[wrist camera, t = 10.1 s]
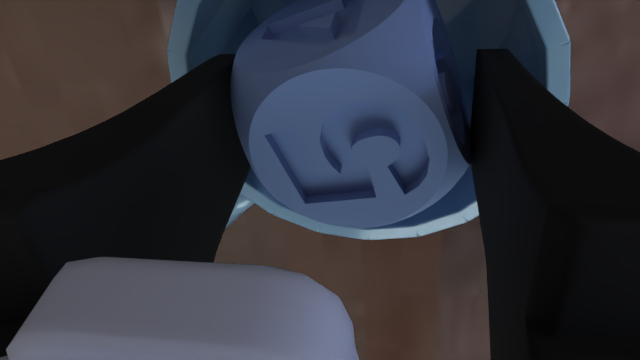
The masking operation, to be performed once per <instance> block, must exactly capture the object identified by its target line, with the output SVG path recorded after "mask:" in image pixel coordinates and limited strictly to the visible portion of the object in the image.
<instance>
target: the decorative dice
mask: <svg viewBox="0 0 640 360" xmlns="http://www.w3.org/2000/svg"><path fill="white" fill-rule="evenodd" d="M230 92H231V103H232V111H233V116H234V121H235V125H236V129H237V132H238V136H239V139H240V142H241V145H242V147H243V150H244V152H245V155H246V157H247V159H248V161H249V163H250V165H251V167H252V169H253V171H254V173H255V174H256V176H257V177H258V179H259V180H260V182H261V183H262V185H263V186H264V187H265V188H266V189H267V191H268V192H269V193H270V194H271V195H272V196H273V197H275V198H276V199H277V200H279V201H280V202H282V203H283V204H284V205H286V206H287V207H289V208H290V209H292V210H293V211H295V212H297V213H299V214H301V215H303V216H305V217H307V218H309V219H312V220H315V221H318V222H321V223H324V224H328V225H333V226H338V227H346V228H370V227H378V226H383V225H388V224H392V223H395V222H398V221H401V220H404V219H406V218H409V217H411V216H413V215H415V214H417V213H419V212H421V211H423V210H425V209H426V208H428V207H430V206H431V205H433V204H434V203H435V202H437V201H438V200H439V199H441V198H442V197H443V196H444V195H445V194H446V193H447V192H448V191H450V190H451V189H452V188H453V187H454V186H455V184H456V183H457V182H458V181H459V179H460V178H461V177H462V176H463V175H464V173H465V172H466V170H467V169H468V167H469V166H470V164H471V162H472V150H471V136H470V123H469V117H468V112H467V107H466V102H465V97H464V93H463V88H462V84H461V80H460V76H459V72H458V68H457V64H456V61H455V57H454V54H453V50H452V47H451V43H450V40H449V37H448V34H447V31H446V28H445V25H444V22H443V19H442V16H441V14H440V11H439V8H438V6H437V3H436V1H435V0H295V1H293V2H292V3H290V4H288V5H287V6H285V7H283V8H282V9H280V10H279V11H277V12H276V13H274V14H273V15H272V16H270V17H269V18H268V19H266V20H265V21H264V22H262V23H261V24H260V25H259V26H258V27H257V28H255V29H254V30H253V31H252V32H251V33H250V34H249V35H248V37H247V38H246V39H245V40H244V41H243V43H242V44H241V45H240V47H239V49H238V51H237V53H236V56H235V59H234V63H233V67H232V72H231V82H230Z"/></svg>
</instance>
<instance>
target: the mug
mask: <svg viewBox="0 0 640 360" xmlns="http://www.w3.org/2000/svg"><path fill="white" fill-rule="evenodd" d="M293 1H295V0H177V2H176V7H175V12H174V16H173V21H172V26H171V30H170V35H169V40H168V44H167V49H168V50H167V56H168V63H169V70H170V77H171V83H172V82H174V81H175V80H177V79H178V78H180V77H181V76H183V75H185V74H186V73H188V72H189V71H191V70H192V69H194V68H195V67H197V66H199V65H200V64H202V63H204V62H205V61H207V60H209V59H210V58H212V57H214V56H217V55H219V54H236V53H237V51H238V49H239V47H240V45H241V44H242V43H243V41H244V40H245V39H246V38H247V37H248V35H249V34H250V33H251V32H252V31H253V30H254V29H255V28H257V27H258V26H259V25H260V24H261V23H262V22H264V21H265V20H266V19H268V18H269V17H270V16H272V15H273V14H274V13H276V12H277V11H279V10H280V9H282V8H283V7H285V6H287V5H288V4H290V3H292V2H293ZM435 1H436V3H437V6H438V8H439V11H440V14H441V16H442V19H443V22H444V25H445V28H446V31H447V34H448V37H449V40H450V43H451V47H452V50H453V54H454V57H455V61H456V64H457V68H458V72H459V76H460V80H461V84H462V88H463V93H464V97H465V102H466V107H467V112H468V117H469V123H470V125H471V113H472V101H473V89H474V77H475V65H476V52H477V49H508V50H509V51H510V52H511V53H512V54H513V55H514V56H515V57H516V58H517V59H518V60H519V61H520V62H521V64H522V65H523V66H524V67H525V68H526V69H527V70H528V71H529V72H530V73H531V74H532V75H533V76H534V77H535V78H536V79H537V80H538V81H539V82H540V83H541V84H542V85H543V86H544V87H545V88H546V89H547V90H548V91H549V92H550V93H552V94H553V95H554V96H555V97H556V98H557V99H559V100H560V101H561V102H562V103H563V104H565V105H566V106H567V107H568V105H569V100H570V74H571V42H570V37H569V34H568V31H567V29H566V26H565V24H564V21H563V19H562V16H561V13H560V11H559V8H558V6H557V3H556V1H555V0H435ZM254 203H255V204H257V205H258V206H260V207H261V208H263V209H264V210H266V211H267V212H269V213H270V214H273V215H274V216H277V217H279V218H282V219H284V220H287V221H290V222H292V223H295V224H297V225H300V226H302V227H305V228H308V229H310V230H313V231H315V232H318V231H319V233H324V234H330V235H337V236H343V237H350V238H356V239H363V240H368V239H369V240H381V239H396V238H411V237H418V236H420V237H421V236H424V235H427V234H430V233H434V232H437V231H440V230H443V229H447V228H450V227H453V226H456V225H460V224H463V223H466V222H467V221H470V220H472V219H473V218H475V217H477V216H478V215H479V212H478V206H477V200H476V194H475V188H474V182H473V176H472V170H471V164H470V166H469V167H468V169H467V170H466V172H465V173H464V175H463V176H462V177H461V178H460V179H459V181H458V182H457V183H456V184H455V186H454V187H453V188H452V189H451V190H450V191H448V192H447V193H446V194H445V195H444V196H443V197H442V198H441V199H439V200H438V201H437V202H435V203H434V204H433V205H431V206H430V207H428V208H426V209H425V210H423V211H421V212H419V213H417V214H415V215H413V216H411V217H409V218H406V219H404V220H401V221H398V222H395V223H392V224H388V225H383V226H378V227H370V228H346V227H338V226H333V225H328V224H324V223H321V222H318V221H315V220H312V219H309V218H307V217H305V216H303V215H301V214H299V213H297V212H295V211H293V210H292V209H290V208H289V207H287V206H286V205H284V204H283V203H282V202H280V201H279V200H277V199H276V198H275V197H273V196H272V195H271V194H270V193H269V192H268V191H267V189H266V188H265V187H264V186H263V185H262V183H261V182H260V180H259V179H258V177H257V176H256V174H255V173H254V171H253V169H252V167H251V168H250V171H249V173H248V176H247V178H246V180H245V183H244V185H243V188H242V190H241V193H240V195H239V197H238V200H237V202H236V204H235V207H234V209H233V211H232V214H231V216H230V218H229V221H228V223H227V226H226V228H227V227H228V226H230V225H231V224H232V223H233V222H234V221H235V220H236V219H237V218H238V217H240V216H241V215H242V214H243V213H244V212H245V211H246V210H247V209H248V208H249V207H251V206H252V205H253V204H254ZM226 228H225V229H226Z"/></svg>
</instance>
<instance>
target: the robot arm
mask: <svg viewBox="0 0 640 360" xmlns="http://www.w3.org/2000/svg"><path fill="white" fill-rule="evenodd" d="M235 56H236V54H219V55H217V56H214V57H212V58H210V59H209V60H207V61H205V62H204V63H202V64H200V65H199V66H197V67H195V68H194V69H192V70H191V71H189V72H188V73H186V74H185V75H183V76H181V77H180V78H178V79H177V80H175V81H174V82H172V83H171V84H169V85H168V86H166V87H164V88H163V89H161V90H160V91H158V92H156V93H155V94H153V95H151V96H150V97H148V98H146V99H144V100H143V101H141V102H139V103H138V104H136V105H134V106H133V107H131V108H129V109H127V110H126V111H124V112H122V113H120V114H118V115H116V116H114V117H112V118H110V119H108V120H106V121H104V122H102V123H100V124H98V125H96V126H94V127H91V128H89V129H87V130H85V131H83V132H80V133H78V134H75V135H73V136H70V137H67V138H65V139H62V140H60V141H57V142H54V143H52V144H49V145H46V146H44V147H41V148H38V149H35V150H32V151H29V152H26V153H23V154H20V155H17V156H13V157H10V158H6V159H3V160H0V360H359V358H358V355H357V352H356V349H355V340H354V331H353V323H352V321H351V319H350V317H349V315H348V313H347V311H346V310H345V308H344V306H343V304H342V302H341V300H340V298H339V297H338V296H337V295H335V294H334V293H333V292H331V291H330V290H328V289H326V288H325V287H323V286H322V285H320V284H319V283H317V282H316V281H314V280H313V279H311V278H310V277H308V276H307V275H305V274H301V273H297V272H293V271H288V270H284V269H280V268H275V267H271V266H264V265H246V264H228V263H213V262H214V258H215V255H216V251H217V249H218V246H219V243H220V240H221V238H222V235H223V233H224V230H225V228H226V226H227V223H228V221H229V218H230V216H231V214H232V211H233V209H234V207H235V204H236V202H237V200H238V197H239V195H240V193H241V190H242V188H243V185H244V183H245V180H246V178H247V176H248V173H249V171H250V168H251V165H250V163H249V161H248V159H247V157H246V155H245V152H244V150H243V147H242V145H241V142H240V139H239V136H238V132H237V129H236V125H235V121H234V116H233V111H232V103H231V92H230V82H231V72H232V67H233V63H234V59H235ZM470 136H471V150H472V162H471V170H472V176H473V182H474V188H475V194H476V200H477V206H478V212H479V218H480V224H481V230H482V236H483V242H484V248H485V256H486V265H487V284H488V304H489V327H490V352H491V360H640V152H638V151H636V150H634V149H632V148H630V147H628V146H626V145H625V144H623V143H621V142H619V141H617V140H616V139H614V138H612V137H610V136H609V135H607V134H606V133H604V132H603V131H601V130H599V129H598V128H596V127H595V126H593V125H592V124H590V123H588V122H587V121H586V120H584V119H583V118H581V117H580V116H579V115H577V114H576V113H575V112H573V111H572V110H571V109H570V108H568V107H567V106H566V105H565V104H563V103H562V102H561V101H560V100H559V99H557V98H556V97H555V96H554V95H553V94H552V93H550V92H549V91H548V90H547V89H546V88H545V87H544V86H543V85H542V84H541V83H540V82H539V81H538V80H537V79H536V78H535V77H534V76H533V75H532V74H531V73H530V72H529V71H528V70H527V69H526V68H525V67H524V66H523V65H522V64H521V62H520V61H519V60H518V59H517V58H516V57H515V56H514V55H513V54H512V53H511V52H510V51H509V50H508V49H477V52H476V65H475V77H474V89H473V101H472V113H471V125H470Z"/></svg>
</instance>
